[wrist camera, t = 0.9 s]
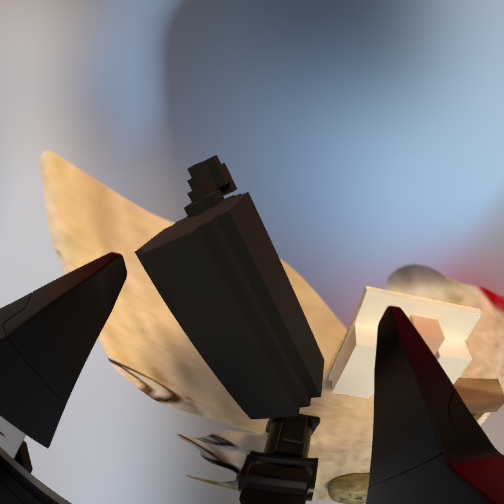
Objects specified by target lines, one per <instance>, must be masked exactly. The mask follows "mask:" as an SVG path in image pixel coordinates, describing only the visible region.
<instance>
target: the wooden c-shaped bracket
mask: <svg viewBox="0 0 504 504" xmlns="http://www.w3.org/2000/svg"><path fill="white" fill-rule="evenodd" d="M453 385H454V388H456V390H457V391H458V393H459V395H460V396H461V398H462V400H463V401H464V403H465V404H466V406H467V408H468V409H469V411H470V412H471V414H472V415H473V417H474V418H475V420H476V421H477V420H478V419H479V418H480V417H481V416H482V415H483V414H484V413H487V412H496V411H497V410H498V409H499V408H500V407H501V406H502V405H503V404H504V394H503V391H502V388H501V386H500V383H499V380H498V379H471V378H458V379H457V380H456V382H455V383H454V384H453Z"/></svg>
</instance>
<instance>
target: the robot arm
mask: <svg viewBox="0 0 504 504" xmlns="http://www.w3.org/2000/svg"><path fill="white" fill-rule="evenodd" d="M126 277H127V270H126V266H125V262H124V258H123V256H122V255H121V254H119V253H115V252H111V253H108V254H106V255H104V256H102V257H100V258H98V259H96V260H94V261H92V262H90V263H88V264H86V265H84V266H82V267H80V268H78V269H76V270H74V271H72V272H70V273H68V274H66V275H64V276H62V277H60V278H58V279H56V280H54V281H52V282H51V283H48V284H47V285H44V286H43V287H41V288H39V289H37V290H35V291H33V293H29V294H28V295H26V296H24V297H22V298H20V299H18V300H16V301H15V302H13V303H11V304H8V305H6V306H4V307H2V308H0V504H71V503H70V502H68V501H67V500H65V499H64V498H62V497H61V496H59V495H58V494H57V493H55V492H54V491H52V490H51V489H50V488H48V487H47V486H46V485H44V484H43V483H42V482H40V481H39V480H38V479H37V478H35V477H34V476H33V475H32V474H31V472H32V469H33V468H32V465H31V461H30V457H29V453H28V448H27V444H26V442H25V441H24V438H25V436H26V435H27V436H29V437H30V438H32V439H33V440H35V441H36V442H38V443H40V444H41V445H43V446H44V447H46V448H49V446H50V444H51V441H52V439H53V436H54V433H55V431H56V428H57V426H58V423H59V420H60V418H61V416H62V413H63V411H64V409H65V406H66V403H67V401H68V399H69V396H70V394H71V392H72V390H73V388H74V386H75V383H76V381H77V379H78V377H79V375H80V373H81V370H82V368H83V366H84V364H85V362H86V360H87V358H88V356H89V354H90V352H91V350H92V348H93V346H94V344H95V342H96V340H97V338H98V336H99V334H100V332H101V331H102V329H103V327H104V325H105V323H106V321H107V319H108V317H109V315H110V314H111V312H112V309H113V307H114V305H115V302H116V300H117V298H118V296H119V293H120V291H121V289H122V286H123V284H124V282H125V280H126ZM319 423H320V418H318V417H312V416H306V415H301V414H299V415H298V416H292V417H280V418H270V419H269V422H268V425H267V428H266V432H267V433H269V435H268V439H267V442H266V446H265V450H264V453H261V452H255V451H252V450H251V452H250V454H249V455H247V457H246V460H245V463H244V465H243V467H242V469H241V471H240V472H239V474H238V475H237V477H236V481H237V482H238V490H239V492H241V494H240V498H239V500H240V503H241V504H305V502H306V501H311V500H312V497H313V492H314V488H315V482H316V474H317V466H318V458H308V452H309V446H310V440H311V435H312V434H313V432H314V431H315V429H316V427H317V426H318V424H319ZM366 504H504V455H502V454H501V453H500V452H498V451H497V449H496V448H495V447H494V446H493V444H492V443H491V442H490V440H489V439H488V437H487V436H486V434H485V433H484V431H483V430H482V428H481V427H480V425H479V424H478V422H477V421H476V420H475V418H474V417H473V415H472V414H471V412H470V411H469V409H468V408H467V406H466V404H465V403H464V401H463V400H462V398H461V396H460V395H459V393H458V391H457V390H456V388H454V385H453V384H452V382H451V380H450V379H449V377H448V376H447V374H446V372H445V371H444V369H443V368H442V366H441V365H440V363H439V362H438V360H437V359H436V357H435V356H434V354H433V353H432V351H431V350H430V348H429V347H428V345H427V344H426V342H425V341H424V339H423V338H422V337H421V335H420V334H419V332H418V331H417V329H416V328H415V327H414V325H413V324H412V322H411V321H410V320H409V318H408V317H407V315H406V314H405V313H404V311H403V310H402V309H401V308H400V307H397V306H388V307H387V308H386V310H385V312H384V314H383V316H382V318H381V319H380V321H379V324H378V328H377V343H376V356H375V368H374V423H373V442H372V455H371V466H370V476H369V486H368V491H367V499H366Z"/></svg>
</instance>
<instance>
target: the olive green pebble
mask: <svg viewBox="0 0 504 504" xmlns="http://www.w3.org/2000/svg"><path fill="white" fill-rule="evenodd" d="M369 476H370V473H355V474H349V475H345V476H341V477H337V478H336V479H334V480H333V481H332V482H331V483H330V485H329V488H328V493H329V496H330V497H331V498H332V499H333V500H334V501H335V502H338V503H343V504H362V503H366V499H367V491H368V486H369Z"/></svg>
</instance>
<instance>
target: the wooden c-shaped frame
mask: <svg viewBox="0 0 504 504" xmlns="http://www.w3.org/2000/svg"><path fill="white" fill-rule="evenodd" d="M388 306H397V307H400V308H401V309H402V310H403V311H404V313H405V314H406V315H407V317H408V318H409V320H410V321H411V322H412V324H413V325H414V327H415V328H416V329H417V331H418V332H419V334H420V335H421V337H422V338H423V339H424V341H425V342H426V344H427V345H428V347H429V348H430V350H431V351H432V353H433V354H434V356H435V357H436V359H437V360H438V362H439V363H440V365H441V366H442V368H443V369H444V371H445V372H446V374H447V376H448V377H449V379H450V380H451V382H452V384H454V383H455V382H456V380H457V379H458V378H459V377H460V375H461V374H462V373H463V371H464V370H465V369H466V367H467V366H468V364H469V363H470V362H471V360H472V358H471V356H470V353H469V351H468V348H467V346H466V344H465V341H466V340H467V338H468V336H469V335H470V333H471V331H472V330H473V328H474V326H475V325H476V323H477V321H478V319H479V318H480V316H481V314H482V313H481V312H480V310H479V309H477V308H472V307H467V306H462V305H457V304H452V303H447V302H442V301H437V300H432V299H427V298H422V297H417V296H412V295H407V294H402V293H397V292H393V291H388V290H383V289H378V288H373V287H368V286H366V287H365V290H364V293H363V296H362V298H361V301H360V303H359V306H358V309H357V311H356V314H355V316H354V319H353V321H352V324H351V326H350V328H349V331H348V333H347V336H346V338H345V340H344V343H343V345H342V347H341V349H340V352H339V354H338V356H337V358H336V361H335V363H334V365H333V367H332V369H331V371H330V373H329V377H328V381H332V393H337V394H343V395H350V396H357V397H365V398H371V397H372V395H373V394H374V368H375V356H376V343H377V328H378V324H379V321H380V319H381V318H382V316H383V314H384V312H385V310H386V308H387V307H388Z"/></svg>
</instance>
